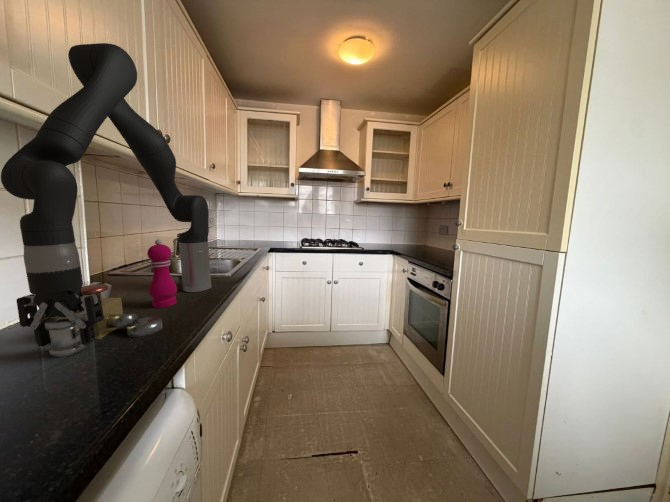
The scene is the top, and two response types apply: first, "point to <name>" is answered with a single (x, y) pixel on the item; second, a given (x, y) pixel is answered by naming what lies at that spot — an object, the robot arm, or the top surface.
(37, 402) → the top surface
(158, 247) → the pepper mill
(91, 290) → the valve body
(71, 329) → the door knob
